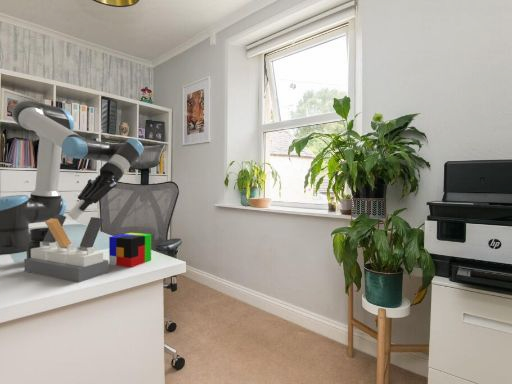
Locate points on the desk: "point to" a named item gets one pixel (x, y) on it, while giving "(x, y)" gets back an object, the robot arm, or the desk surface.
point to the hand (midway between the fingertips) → (71, 216)
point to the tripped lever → (58, 233)
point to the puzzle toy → (129, 249)
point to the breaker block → (68, 256)
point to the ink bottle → (36, 239)
